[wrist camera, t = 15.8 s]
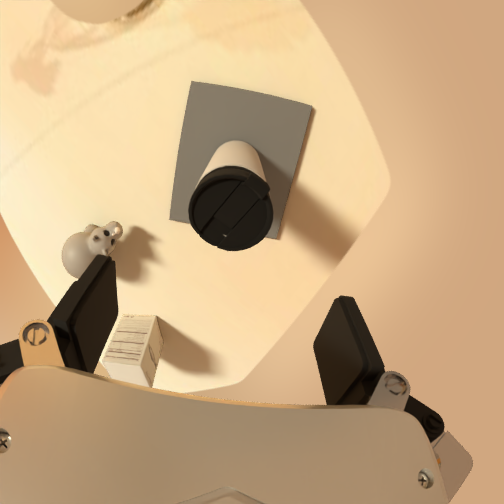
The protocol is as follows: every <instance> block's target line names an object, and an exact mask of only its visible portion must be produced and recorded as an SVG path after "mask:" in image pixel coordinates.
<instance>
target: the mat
mask: <svg viewBox="0 0 504 504" xmlns="http://www.w3.org/2000/svg"><path fill="white" fill-rule="evenodd" d="M311 109H312V106H310V105H307V104H303V103H300V102H296V101H292V100H288V99H284V98H280V97H276V96H272V95H268V94H263V93H259V92H254V91H249V90H244V89H239V88H233V87H227V86H221V85H215V84H208V83H201V82H194V81H191V86H190V91H189V95H188V100H187V105H186V111H185V116H184V121H183V127H182V132H181V138H180V144H179V150H178V157H177V164H176V170H175V178H174V185H173V193H172V201H171V209H170V219H169V220H174V221H179V222H185V223H190V220H189V214H188V208H189V202H190V199H191V196H192V194H193V193H194V191H195V188H196V185H197V184H198V182H199V180H200V178H201V176H202V174H203V173H204V171H205V169H206V167H207V166H208V164H209V162H210V160H211V159H212V157H213V155H214V153H215V152H216V150H217V149H218V148H219V147H220V146H221V145H222V144H224V143H225V142H228V141H231V140H241V141H245V142H247V143H249V144H250V145H252V146H253V147H254V148H255V150H256V151H257V153H258V156H259V159H260V162H261V165H262V169H263V172H264V175H265V179H266V182H267V184H268V185H269V187H270V191H269V193H270V198H271V202H272V206H273V222H272V226H271V228H270V230H269V232H268V234H267V235H266V236H265V237H268V238H273V239H276V238H277V234H278V231H279V227H280V224H281V220H282V216H283V213H284V209H285V206H286V202H287V198H288V195H289V191H290V188H291V184H292V180H293V177H294V173H295V169H296V166H297V162H298V158H299V154H300V151H301V147H302V143H303V139H304V136H305V132H306V128H307V124H308V120H309V117H310V113H311Z"/></svg>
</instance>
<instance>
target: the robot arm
mask: <svg viewBox="0 0 504 504" xmlns="http://www.w3.org/2000/svg"><path fill="white" fill-rule="evenodd" d="M117 316H118V300H117V287H116V269H115V261H112V259H111V257H110V256H106V255H101V254H98V255H96V257H95V258H94V259H93V261H92V262H91V263H90V265H89V266H88V267H87V269H86V270H85V271H84V273H83V274H82V275H81V277H80V278H79V279H78V281H75V282H74V283H73V284H72V285H71V286H70V288H69V289H68V291H67V292H66V293H65V295H64V296H63V298H62V299H61V301H60V302H59V304H58V305H57V307H56V308H55V310H54V311H53V313H52V314H51V316H50V317H49V319H48V320H47V322H46V321H44V320H39V319H37V320H32V321H29V322H27V323H26V324H24V325H23V327H22V328H21V330H20V332H19V339H17V340H14V341H11V342H8V343H5V344H2V345H0V504H449V502H450V501H451V499H452V498H453V497H454V495H455V494H456V492H457V491H458V490H459V488H460V487H461V485H462V483H463V482H464V481H465V479H466V477H467V476H468V474H469V473H470V471H471V469H472V466H473V460H472V457H471V456H470V454H469V453H468V452H467V451H466V450H465V449H464V448H463V446H461V444H460V443H459V442H458V441H457V440H456V439H455V438H454V437H453V436H452V435H451V434H450V433H449V432H448V431H447V432H446V433H445V432H444V422H443V420H442V418H441V417H440V415H439V414H438V413H436V412H435V411H433V410H432V409H430V408H429V407H427V406H425V405H424V404H423V403H421V402H419V401H418V400H416V399H415V398H413V397H412V396H410V395H409V394H410V385H409V383H408V381H407V379H406V378H405V377H404V376H403V375H401V374H400V373H397V372H394V371H387V372H385V370H384V367H385V366H384V364H383V361H382V359H381V357H380V355H379V352H378V350H377V347H376V345H375V343H374V341H373V338H372V336H371V334H370V332H369V330H368V327H367V325H366V323H365V321H364V319H363V316H362V314H361V312H360V310H359V308H358V306H357V304H356V302H355V299H354V298H353V297H349V296H339V298H336V299H335V300H334V302H333V304H332V306H331V308H330V310H329V312H328V315H327V316H326V318H325V321H324V323H323V325H322V327H321V329H320V331H319V333H318V335H317V337H316V339H315V341H314V345H313V348H314V353H315V357H316V360H317V365H318V369H319V373H320V378H321V382H322V386H323V390H324V395H325V399H326V403H327V405H291V404H270V403H257V402H244V401H234V400H225V399H217V398H209V397H202V396H195V395H189V394H183V393H177V392H171V391H166V390H161V389H156V388H151V387H146V386H141V385H137V384H133V383H128V382H124V381H120V380H116V379H112V378H108V377H104V376H99V375H96V374H93V373H94V371H95V368H96V366H97V363H98V361H99V358H100V356H101V353H102V351H103V349H104V346H105V344H106V342H107V339H108V337H109V335H110V332H111V330H112V328H113V326H114V324H115V321H116V319H117Z"/></svg>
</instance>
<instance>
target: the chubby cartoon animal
mask: <svg viewBox="0 0 504 504" xmlns="http://www.w3.org/2000/svg"><path fill="white" fill-rule="evenodd" d="M122 233H123V229H122V226H121V225H120V224H119V223H118V222H115V221H113V222H110V223H109V224H107V225H106V226H104V227H99V228H98V227H97V226H95V225H88V226H87V227H86V228H85V230H84V232H79V233H76V234H74V235H72V236H71V237H69V238H68V240H67V241H66V242H65V244H64V246H63V249H62V262H63V265H64V267H65V269H66V270H67V272H68V273H69V274H70V275H72V276H73V277H75V278H78V279H79V278H80V277H81V275H82V274H83V273H84V271H85V270H86V269H87V267H88V266H89V265H90V263H91V262H92V261H93V259H94V258H95V257H96V255H98V254H101V255H106V256H108V254H110V253H111V252H112V251H113V250H114V249H115V245H116V241H117V240H118V239H119V238H120V237H121V236H122Z"/></svg>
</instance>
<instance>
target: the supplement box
mask: <svg viewBox="0 0 504 504" xmlns="http://www.w3.org/2000/svg"><path fill="white" fill-rule="evenodd" d="M162 346H163V339H162V336H161V333H160V329H159V325H158V321H157V316H152V315H130V314H123V315H122V317H121V319H120V321H119V324H118V326H117V328H116V330H115V333H114V335H113V337H112V339H111V342H110V344H109V346H108V349H107V351H106V353H105V356H104V358H103V360H102V362H103V364H104V366H105V368H106V370H107V372H108V374H109V376H110V377H111V378H112V379H116V380H120V381H124V382H128V383H133V384H137V385H141V386H146V387H151V388H152V386H153V382H154V377H155V373H156V369H157V366H158V362H159V358H160V354H161V350H162Z"/></svg>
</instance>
